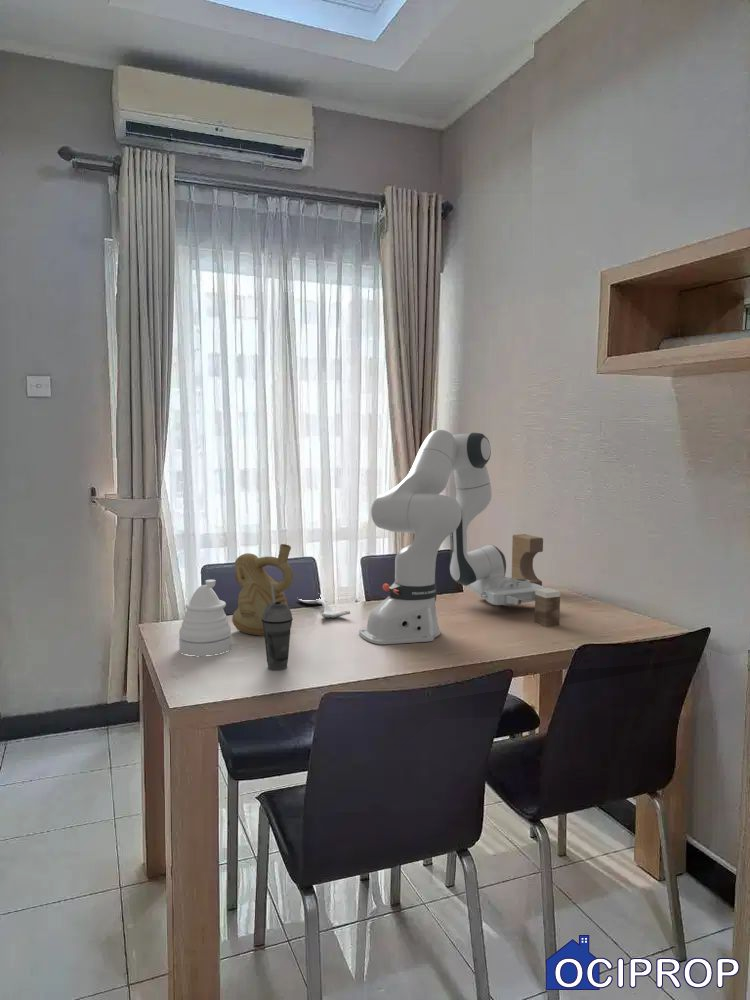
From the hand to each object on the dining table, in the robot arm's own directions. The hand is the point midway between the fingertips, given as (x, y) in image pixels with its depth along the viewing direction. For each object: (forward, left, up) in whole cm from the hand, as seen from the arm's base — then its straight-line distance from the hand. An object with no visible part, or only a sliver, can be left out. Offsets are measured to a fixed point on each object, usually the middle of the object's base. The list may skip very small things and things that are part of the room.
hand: (532, 600), depth 207 cm
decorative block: (+20, +30, -6) cm, 36 cm away
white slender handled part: (-55, +35, -6) cm, 65 cm away
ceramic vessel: (-78, +19, -6) cm, 80 cm away
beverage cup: (-83, -13, -6) cm, 84 cm away
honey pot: (-96, +8, -6) cm, 96 cm away
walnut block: (0, -7, -6) cm, 9 cm away
